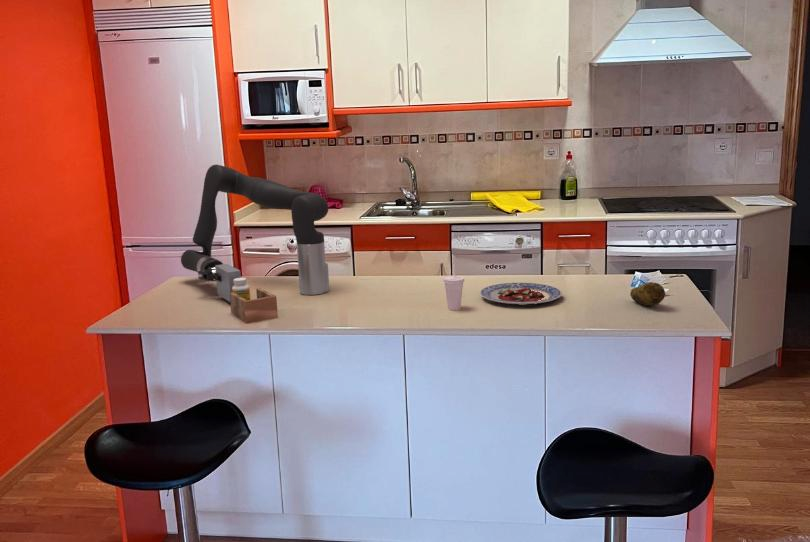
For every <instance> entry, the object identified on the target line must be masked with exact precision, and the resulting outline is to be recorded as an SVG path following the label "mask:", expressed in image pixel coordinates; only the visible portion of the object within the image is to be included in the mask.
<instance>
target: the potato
mask: <svg viewBox="0 0 810 542" xmlns="http://www.w3.org/2000/svg"><path fill="white" fill-rule="evenodd" d="M629 295H630V298H631V299H632V300H633V301H634V302H636V301H637V302H636V303H639V302H640V303H639V304H641V303H642V305H643V304H645V305H644V306H647V305H653V306H655V305H658V304H661V303H662V301H664V299H665V297H666V291H665V288H664V287H663V285H661V284H660V283H658V282H650V281H649V282H644V283H643V284H641V285H639V286H636V287H634V288H632V289H631V290H630V293H629Z"/></svg>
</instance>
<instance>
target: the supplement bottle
mask: <svg viewBox="0 0 810 542" xmlns="http://www.w3.org/2000/svg"><path fill="white" fill-rule="evenodd" d="M247 282H248V281H247V278H246V277H241V278H236V279H234V284H235V285H234V286H233V287H232V293H235V294H237V295H239V296H240V297H242V298H244V299H246V300H251V289H250V285H249V284H247Z"/></svg>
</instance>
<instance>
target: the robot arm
mask: <svg viewBox="0 0 810 542" xmlns="http://www.w3.org/2000/svg"><path fill="white" fill-rule="evenodd" d="M203 181H204V182H203V188H202V194H201V195H202V196H201V204H200V210H199V214H198V215H199V216H198V219H197V224H196V226H195V229H194V233H193V237H192V242H193V243H194V244H195V245H197V246H199V247H201V248H202V251H197V250H193V249H187V250H185V251H183V253H182V254H181V257H180V262H181V263H180V264H181V266H182V267H183V268H184V269H186V270H189V271H193V272H196V273H197V275H198V279H199V280H201V281H202V280H203V281H206V282H207V281H208V282H210V281H211V282H217V281H219V282H221V275H220V274H218V273H216V270H215V265H222V264H224V263H223V262H222V261H220V260H219V259H216V258H214V257H213V256H212V249H213V248H212V247H213V241H214V237H215V235H216V232H217V227H218V217H217V211H216V200H217V196H218V193H219V192H221V193H226V194H233V195H238V196H242V197H245V198H247V199H248V200H249V201H250V202H251V203H253V204H256V205H259V206H262V207H263V208H264V207H265V208H267V209H274V210H286V211H287V210H289V211H291V219H292V220H291V222H292V229H293V234H294V237H295V240H296V252H297V253H296V254H297V266H298V267H297V268H298V282H299V284H298V285H299V293H300V294H302V295H304V296H305V295H306V296H313V295H320V294H321V295H322V294H325V293H327V292H330V279H329V276H330V275H329V265H328V263H327V262H326V249H325V235H324V233H323V232H322V231H319V230H317V229H316V228H315V222H317V221H320V220H322V219H324V218H325V217H326V216H327V214H328V212H329V204H328V202H327V200H326V199H325V198H324V196H322V195H321V194H318V193H316V192H315V193H314V192H308V191H303V190H298V189H295V188H292V187H290V186H287V185H284V184H282V183H278V182H275V181H273V180H270V179H267V178H262V177H257V176H255V177H254V176H249V175H246V174H245V173H242V172H240V171H238V170H236V169H235V168H232V167H228V166H226V165H225V166H224V165H220V164H213V165H210V166H209V167H208V168H207V171H206V173H205V176H204V180H203ZM232 267H234V268H236V269H238V268H237V265H233V266H232Z"/></svg>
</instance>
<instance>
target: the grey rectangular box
mask: <svg viewBox="0 0 810 542" xmlns="http://www.w3.org/2000/svg"><path fill="white" fill-rule="evenodd" d="M215 270H216V273H218V274H220V275H221V282H219V281H216V289H217V290H216V291H217V295H218V296H219V297H221V298H223V299H224V300H226V301H227V302H229V303H230V293H232V287H233V286H234V285H235V284H234V279H236V278H242V275H241V274H242V273H241V272H242V271H241V270H240V269H238V268H237V269H236V268H234V267H233V266H232V265H231V264H229V263H223V264H222V265H215Z"/></svg>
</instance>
